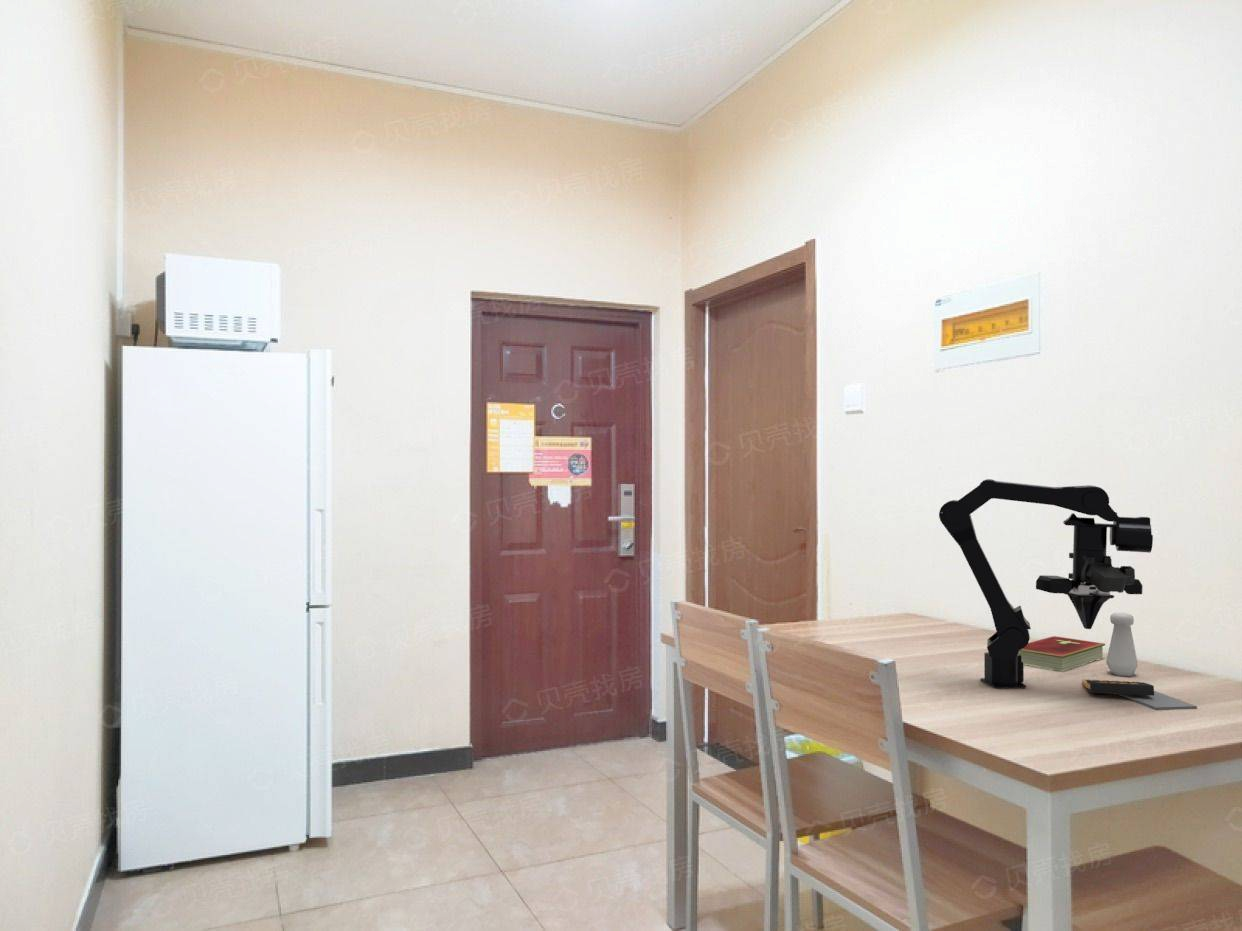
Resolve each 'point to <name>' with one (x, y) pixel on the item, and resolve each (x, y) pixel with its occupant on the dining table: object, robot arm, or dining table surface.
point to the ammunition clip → (1118, 687)
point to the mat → (1159, 701)
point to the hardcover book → (1060, 653)
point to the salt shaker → (1122, 646)
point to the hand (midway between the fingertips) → (1087, 628)
